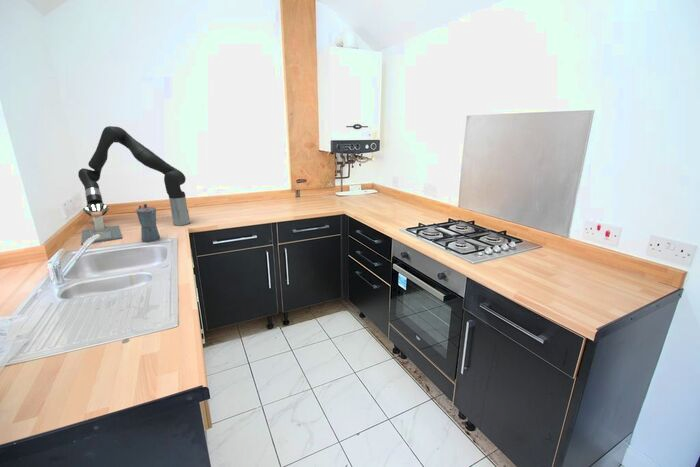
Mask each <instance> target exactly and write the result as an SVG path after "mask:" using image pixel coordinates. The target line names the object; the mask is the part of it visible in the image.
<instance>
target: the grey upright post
mask: <svg viewBox="0 0 700 467" xmlns="http://www.w3.org/2000/svg"><path fill="white" fill-rule="evenodd" d="M91 212H92V211H91ZM91 216H92V217H91ZM91 216H90V217H91V218H92V219H93V225H94V228H95V229H96V232H102V231H105V228H104V227H105V224H104V220H103V215H102V210H101V211H97V212H92V213H91Z"/></svg>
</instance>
